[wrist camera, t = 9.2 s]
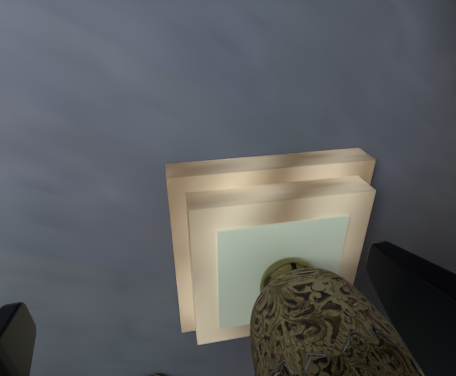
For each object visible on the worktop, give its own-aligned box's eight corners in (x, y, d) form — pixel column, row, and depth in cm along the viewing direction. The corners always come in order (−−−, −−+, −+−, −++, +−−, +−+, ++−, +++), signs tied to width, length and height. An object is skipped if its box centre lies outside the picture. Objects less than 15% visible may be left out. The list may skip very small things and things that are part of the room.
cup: (291, 327, 24) (347, 457, 17) (204, 299, 21) (230, 443, 14) (361, 252, 22) (458, 367, 15) (275, 208, 19) (346, 327, 12)
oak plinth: (359, 147, 23) (397, 175, 19) (330, 287, 29) (356, 328, 26) (165, 164, 21) (168, 198, 17) (179, 311, 27) (184, 359, 24)
